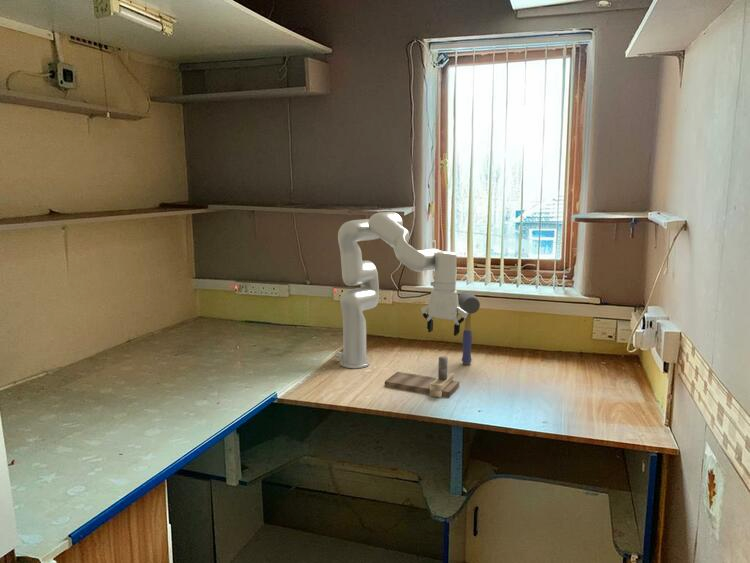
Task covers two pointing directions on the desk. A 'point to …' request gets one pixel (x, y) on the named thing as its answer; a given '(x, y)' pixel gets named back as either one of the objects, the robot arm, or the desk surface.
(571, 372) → the desk surface
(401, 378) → the walnut board
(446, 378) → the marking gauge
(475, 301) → the rubber mallet
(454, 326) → the robot arm
